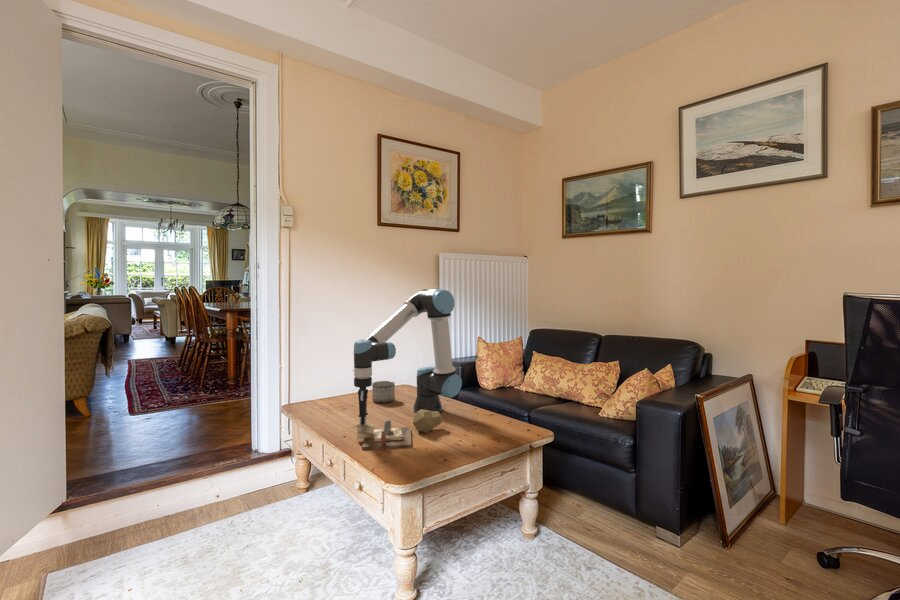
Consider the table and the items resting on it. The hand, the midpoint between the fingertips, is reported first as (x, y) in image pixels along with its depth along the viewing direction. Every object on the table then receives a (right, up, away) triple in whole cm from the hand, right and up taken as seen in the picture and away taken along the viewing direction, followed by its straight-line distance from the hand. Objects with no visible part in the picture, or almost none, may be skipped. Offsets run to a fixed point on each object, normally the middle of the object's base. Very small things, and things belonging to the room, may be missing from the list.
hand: (363, 430), depth 188 cm
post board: (+11, -4, +1) cm, 11 cm away
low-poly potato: (+27, -4, +12) cm, 30 cm away
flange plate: (+7, -2, 0) cm, 7 cm away
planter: (-1, -2, +62) cm, 62 cm away
